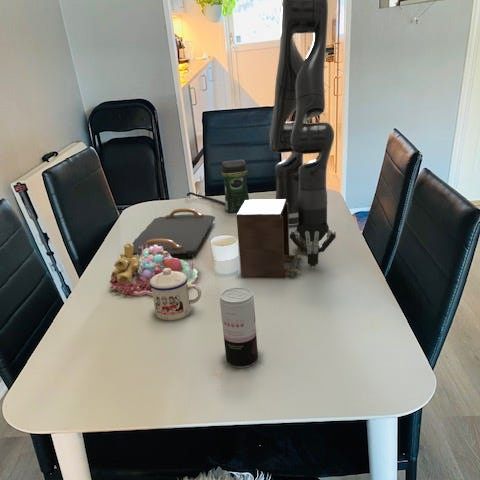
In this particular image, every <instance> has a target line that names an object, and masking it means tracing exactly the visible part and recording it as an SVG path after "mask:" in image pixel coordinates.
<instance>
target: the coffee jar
mask: <svg viewBox="0 0 480 480" xmlns="http://www.w3.org/2000/svg"><path fill="white" fill-rule="evenodd" d="M247 174H248V167H247V163H246V161H245V160H244V159H234V160H227V161H223V162H222V163H221V175H222V178H223V180H224V181H223V182H224V202H225V205H224V206H225V210H226V211H227V212H228V213H238V211H239V210H240V208H241V206H242V205H243V203H244V202H245V200H250V196H249V191H248V185H247Z"/></svg>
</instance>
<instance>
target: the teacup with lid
mask: <svg viewBox="0 0 480 480" xmlns="http://www.w3.org/2000/svg"><path fill="white" fill-rule="evenodd" d="M187 281H188V279H187V277H186V275H185V274H184V273H181V272H177V271H171V269H170V268H164V269H163V272H162V273H160V274H157V275H155V276H154V277H152V279H151V280H150V287H151V289H152V294H153V296H152V299H153V306H154V310H155V315H156V317H157V318H158V319H160V320H164V321H176V320H181V319H183V318H185V317H187V316H188V315H189V314H190V312H191V310H192V308H191V305H193V304H196V303H198V302H199V301H200V299H201V297H202V290H201V288H200V286H198V285H197V284H195V283H194V284H187ZM188 288H189V289H194V290H196V292H197V297H195V298H194V299H190V294H189V293H190V292H189V289H188Z"/></svg>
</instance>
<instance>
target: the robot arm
mask: <svg viewBox="0 0 480 480" xmlns="http://www.w3.org/2000/svg"><path fill="white" fill-rule="evenodd" d="M281 3H282V4H281V11H280V12H281V13H280V38H279V54H278V62H277V67H276V68H277V69H276V75H275V85H274V86H275V87H274V102H273V111H272V116H271V122H270V126H269V133H268V134H269V135H268V145H269V148H270V150H271V151H272V152H273V153H274V154H285V153H290V155H289V156H288V157H286V158H285V159H283V160H282V161H280V162H278V163H277V164H275V167H274V174H275V175H274V176H275V199H286V203H288V221H289V227H295V226H296V229H295V230H294V231H290V233H289V240H291V241H292V242H293V244H295V246H296V247H297V249H298V248H299V249H300V250H301V252H306V253H307V254H308V255H307V264H308V265H309V266H310V267H316V266H317V265H318V263H319V254H320V253H323V252H325V251H326V250H327V248H328V247H329V246H330V245H331V244H332V243H333V241H335V239H336V237H337V232H336V231H332V230H331V229H330V227H329V223H328V191H327V168H328V163H329V159H330V156H331V155H330V154H331V152H332V148H333V145H334V142H335V141H334V140H335V131H334V128H333V126H332V125H331V124H330V123H329V122H326V121H324V122H323V121H322V122H313V123H312V122H310V123H309V122H308V123H306V122H307V121H309V120H310V119H313V118H316V117H318V116H320V115H322V114H323V113H324V112H325V110H326V96H325V95H326V93H325V92H326V91H325V64H326V63H325V62H326V52H327V36H328V21H329V2H328V0H282V2H281ZM295 34H313V41H312V45H311V47H310V50H309V52H308V54H307V55H306V57H305V59H304V57H303V55H301V53H300V51H299V49H298V47H297V45H296V42H295V39H294V35H295ZM294 112H295V116H294V121H288V119H289V118H290V116H292V114H294ZM310 154H318V155H317V156H316V158H315V159H313V160H310V161H307V162H304V155H310ZM190 195H192V196H194V197H197V198H202V199H206V200H210V201H212V202H216V203H218V204H221V205H222V206H223V205H224V206H225V201H222V200H219V199H217V198H213V197H210V196H207V195H202V194H197V193H194V192H193V191H190V192H189V191H188V192H187V193H186V197H189V196H190ZM299 234H300V235H301V237H302V238H303V239H304V240H305V241H306V246H305V244H304V243H303V242H302V241H301V240H300V238H299ZM325 236H326V239H325V240H324V241H323V242H322V243H321V245H320V241H322V240H323V238H324V237H325ZM312 241H313V242H314V250H313V251H312Z"/></svg>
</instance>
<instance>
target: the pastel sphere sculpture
mask: <svg viewBox="0 0 480 480" xmlns="http://www.w3.org/2000/svg"><path fill="white" fill-rule="evenodd" d="M123 251H124V253H121V254H119V256H120V257H119V258H118V259H117V260H116V261H115V262H114V265H113V266H114V267H115V268H114V269H113V271H111V272H112V273H111V275H110V280H109V283H110V285H109V288H110V290H114V291H113V294H114V293H118V292H119V291H122V293H121V296H133V295H134V296H143V295H148V296H151V297H153V294H152V289H151V287H150V280H151V279H152V277H154V276H155V275H157V274H160V273H162V272H163V269H164V268H170V269H171V271H177V272H181V273H184V274H185V275H186V277H187V279H188V281H187V284H194V285H195V283H196V281H197V280H198V279H199V276H198V275H199V271H198V270H197V269H196V268H195V267H194V263H193V261H192V262H191V261H190V262H189V264H188V263H187V262H186V261H185V260H184V259H179V258H177V257H173V256H172V255H170V254H169V253H168V252H167V251H164V250H163V247H162V246H159V247H158V246H157V245H153V246H151V245H150V247H149V248H147V244H146V249H144V250H143V245H142V254H140V255H138V254H137V255H133V251H134V248H133V244H132V243H126V244H124V245H123ZM189 289H190V288H188V290H189Z"/></svg>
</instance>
